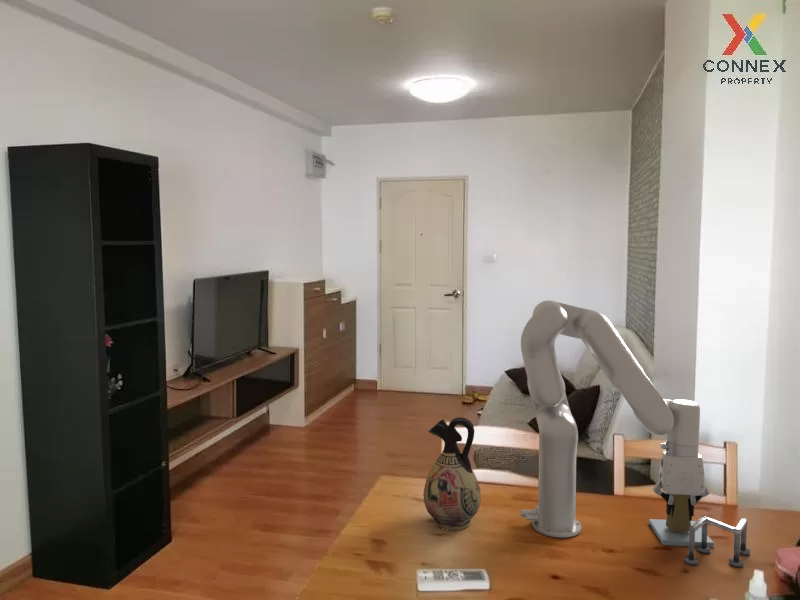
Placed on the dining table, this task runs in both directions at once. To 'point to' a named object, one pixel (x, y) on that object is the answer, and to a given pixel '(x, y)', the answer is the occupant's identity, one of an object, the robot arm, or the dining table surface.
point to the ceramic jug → (452, 479)
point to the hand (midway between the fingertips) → (679, 517)
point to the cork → (679, 514)
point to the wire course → (703, 548)
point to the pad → (676, 534)
